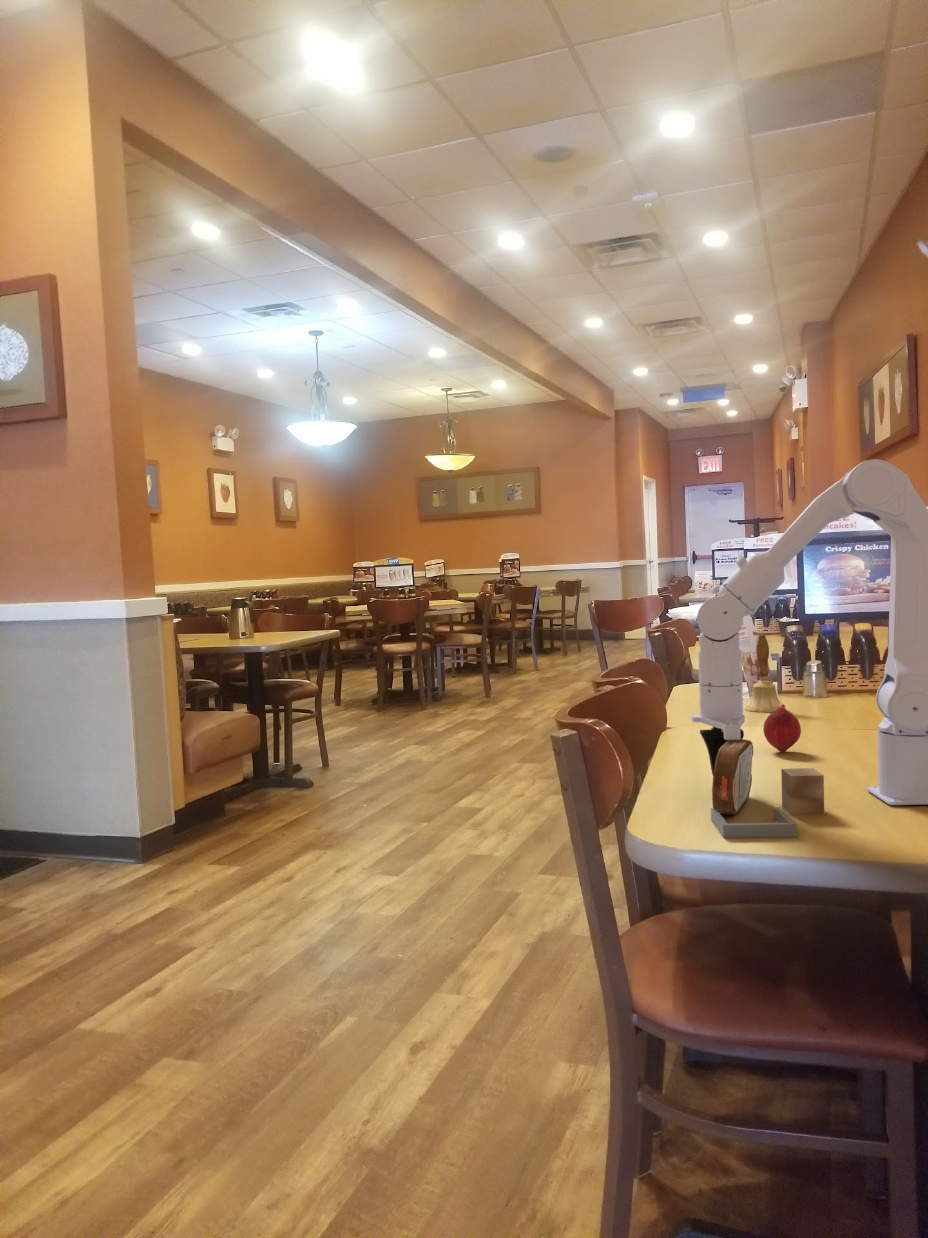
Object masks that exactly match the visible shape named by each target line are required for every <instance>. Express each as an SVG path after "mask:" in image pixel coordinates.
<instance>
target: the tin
mask: <svg viewBox="0 0 928 1238" xmlns="http://www.w3.org/2000/svg"><path fill="white" fill-rule="evenodd" d="M753 756H754V744H753V742H752V741H751V740H749V739H744V738H743V739H740V740H728V741H727V742H726V743H725V744H724V745H723V746H721V747H720V749H719V751H718V754H717V757H716V761H715V767H714V774H712V784H711V785H712V788H711V792H712V793H711V796H712V797H711V798H712V799H711V800H712V802H711V803H712V808H716V809H717V810H718V812H719V813H720V814H726V815H737V814H738V812H739V811H740V810H741V808H743V806H744V805H745V803H746V802H747V800H748V799H749V796H750V793H751V788H752V784H753V783H752V782H753V781H752V780H753V777H752V768H753Z"/></svg>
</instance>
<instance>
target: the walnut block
mask: <svg viewBox="0 0 928 1238" xmlns="http://www.w3.org/2000/svg"><path fill="white" fill-rule="evenodd" d="M780 771H781V807H782V809H784V810H785V811H786V812H787V813H788V814H789V815H790V816H825V787H824V786H825V783H824V782H825V781H824V780H825V779H824V776H825V775H823V774H822V772H819V771H818V770H817V769H815V768H814V767H812V768H811V767H810V768H809V767H808V768H781V770H780Z"/></svg>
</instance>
